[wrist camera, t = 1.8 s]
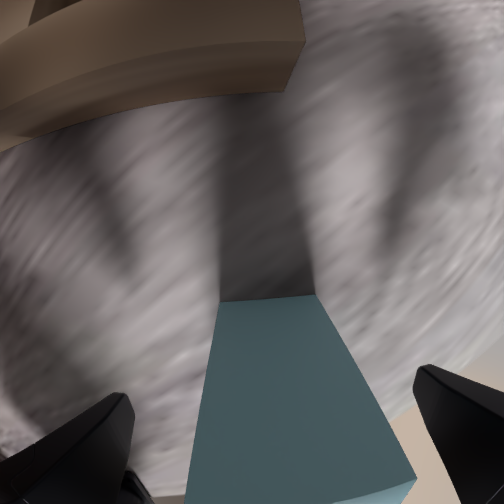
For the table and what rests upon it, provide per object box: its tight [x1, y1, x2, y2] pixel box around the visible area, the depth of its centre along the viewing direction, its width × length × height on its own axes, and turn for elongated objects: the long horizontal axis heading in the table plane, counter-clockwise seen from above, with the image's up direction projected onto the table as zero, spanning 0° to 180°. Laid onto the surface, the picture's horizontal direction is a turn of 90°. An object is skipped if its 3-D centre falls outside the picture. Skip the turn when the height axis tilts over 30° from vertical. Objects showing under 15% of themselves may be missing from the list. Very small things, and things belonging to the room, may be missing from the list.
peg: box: [184, 295, 417, 504], centre depth 7 cm, size 4×4×8 cm
